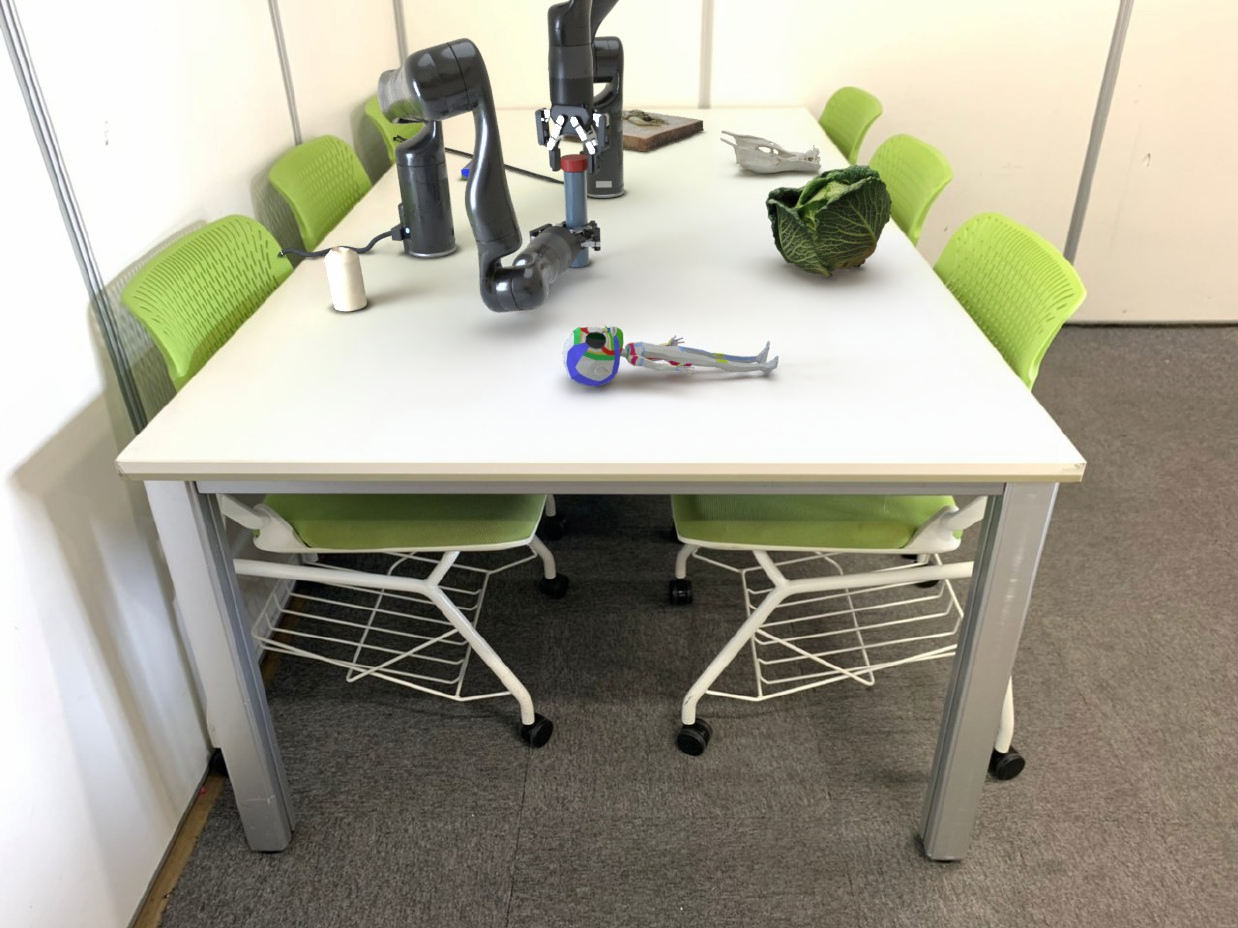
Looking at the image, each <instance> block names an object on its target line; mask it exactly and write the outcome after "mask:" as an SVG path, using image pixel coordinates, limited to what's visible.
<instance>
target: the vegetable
mask: <svg viewBox="0 0 1238 928" xmlns="http://www.w3.org/2000/svg"><path fill="white" fill-rule="evenodd" d="M767 196H768V197H767V198H766V200H765V207H766V209H767V219H769V221H770V222H771V223H770V229H771V232H772V237H773V239H774V240H773V244H774V246H775V247H776V250H777V251H778V253H780V255H781V256H782V258H783V259H784V261H785V262H786V264H793V265H794V266H795V267H796V268H799V269H800V270H802V271H804V272H806V273H809V274H813V275H821V276H824V277H825V278H829V276H830V277H833V274H832V273H831V272H834V271H836V270H840V269H848V270H851V268H861V266H862V265H864V264H865V262H866V261H867V259H869V258H870V257H871V256H872V255H873V254H875V252H876V249H877V246H878V242H879V240H880V238H881V235H882V233H883V230H884V228H885V226H886V225H887V224H888V223H889V222H890V220H891V216H890V215H891V214H892V211H891V209H892V204H893V200H892V198H891V194H890V192H889V191H888V189H887V184H886V183H885V180H882V178H881V176H880V173H879V172H878V170H876V169H873V168H871V167H870V165H869V164H868V165H867V164H865V165H863V164H862V165H859V164H852V165H849V166H847V167H846V168H835V169H830V170H825V171H823V172H821V173H820V174H817V175H816V176H814V177H813V178H812V179H811V180H809V181H807V182H806V184H804V185H803V186H800V187H787V186H780V187H778V188H774V189H773V190H770V191H769V192H768V194H767Z"/></svg>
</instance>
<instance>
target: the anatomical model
mask: <svg viewBox="0 0 1238 928" xmlns="http://www.w3.org/2000/svg"><path fill="white" fill-rule="evenodd" d="M720 133H721V134H724V135H728V136H731V137H733V138H734V140H735V143H734V142H731V141H729V140H728V139H725V138H722V137H720V141H721V142H723V143H725V144H727V145H729V146H732V147H733V149H734V150H733V151H734V154H735V160H736V161H735V164H736V165H739V166H740V168H742V169H744V170H751V171H752V172H754V173H757V174H774V173H779V172H784V171H805V172H813V171H818V170H820V169H821V168H822V164H821V163H820V162H821V156H819V155H820V153H821V152H820V149H819V148H816V147H815V145H812V149H808V150H807V151H806V152H799V151H789V150H786V149H784V148H783V146H781V145H780V144H778V143H776V142H774V141H771V140H768V139H766V138H763V137H760V136H754V135H750V134H738V133H735V132H730V131H727V130H721V132H720ZM760 148H767V149H769V150H770V151H769V152H766V151H764V150H762V149H760ZM774 150H776V151H777V153H775V152H774Z"/></svg>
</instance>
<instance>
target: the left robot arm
mask: <svg viewBox="0 0 1238 928" xmlns="http://www.w3.org/2000/svg"><path fill="white" fill-rule="evenodd" d="M376 94H377V100H378V105H379V108H380V111H381V113H382V115H383V117H384V118H385V120H387V122H389V123H390V124H392V125H397V126H398V125H399V126H400V125H403V126H404V125H414V124H422V127H421V129H420V130H419V131H418V132H417V133H416V134H414V135H413V136H411V137H409V138H407V139H408V140H406V141H402V142H400V143H399V144H397V145H396V146H395V147H394V158H395V165H396V171H397V178H398V179H397V180H398V185H399V192H400V198H401V199H400V200H401V202H400V203H398V205H397V209H398V217H399V223H397V224H396V225H395V226H393V227H391V228H390V230H388V231H385V232H382V233H380V234H378V235H376V236H375V237H372V239H371V240H370V242H369V243H368V244H367V245H366V246H363V247H361V248H360V247H353V246H349V245H337V246H336V247H344V248H347V249H351V250H353V251H355V252H356V253H357V254H364V253H368V252H369V251H371V250H372V249H373V248H374V247H375V245H376V244H377V243H378V242H380V241H382V240H383V239H385V238H388V237H391V241H396V242H402V245H403V252H404V254H408V255H410V256H412V257H416V258H423V259H430V258H431V259H432V258H440V257H445V256H448V255H451V254H453V253H454V252H456V251H457V248H458V247H457V243H456V235H455V234H456V233H455V224H454V217H453V209H452V200H451V191H450V183H449V181H450V180H449V175H448V166H447V157H446V151H445V147H446V146H445V138H444V129H443V127H444V126H443V121H444V120H448V119H451V118H454V117H457V116H460V115H464V114H468V113H470V112H471V113H472V116H473V122H474V146H473V153H472V154H473V158H472V157H471V160H472V163H471V167H470V171H469V175H468V179H466V185H465V191H464V208H465V211H466V216H467V219H468V222H469V225H470V228H471V231H472V235H473V238H474V241H475V244H476V249H477V259H478V274H479V275H478V277H479V280H478V282H479V294H480V299H481V300H482V302H483V304H484V305H485V306H486V308H488V309H489V310H490V311H491V312H494V313H500V314H501V313H512V312H522V311H532V310H536V309H538V308H540V307H542V306H543V305H544V304H545V303H546V302H547V299H548V296H549V291H550V290H549V289H550V287H551V284H552V283H553V282H554V281H555V280H556V279H558V278H559V277H561V276H562V275H563V274H564V273H565V272H566V271H567V270H568V269H569V268H570V267H571V266H570V265H571V264H572V263H573V262H574V261H575V260H576V258H577V256H578V254H579V252H580V251H583V250H585V248H586V247H589V248H591V249H592V250H593V251H594V252H601V249H602V246H601V244H602V243H601V227H598V223H597V222H596V220H594V219H593V220H590V221H588V224H587V225H586V226H585V227H577V228H575V229H573V230H571V229H570V230H568V229H566V219H565V220H563V221H561V222H558V223H556V224H555V225H553V223H550V222H549V223H546V224H543V225H541V226H538V227H536V228H534V229H531V230H529V243H528V244H527V246H526V247H525V248H524V249H523V250H521V252H520V253H518V254H517V255H516V256H515V258H514V259H513V262H512V264H511V265H509V266H503V264H502V258H505V257H508V256H510V255H512V254H515V253H516V252H517V251H519V250H520V249H521V248H522V245H523V235H522V231H521V227H520V223H519V221H518V217H517V214H516V210H515V206H514V203H513V200H512V196H511V193H510V188H509V185H508V183H509V182H508V180H507V173H506V168H505V167H504V164H505V161H504V155H503V154H504V153H503V147H502V139H501V135H500V128H499V123H498V118H497V112H496V105H495V99H494V94H493V88H492V84H491V79H490V75H489V72H488V69H487V65H486V63H485V60H484V57H483V55H482V53H481V50H480V49H479V47H477V44H476V43H475V42H474V41H473V40H471V39H469V38H468V37H461V38H458V39H453V40H451V41H446V42H444V43H440V44H437V45H433V46H429V47H426V48H422V49H419V50H416V51H413V52H412V53H410V54H409V55H408V56H407V57H406V58H405V60H404V62H403V63H402V64H401V65H400V66H399V67H397V68H395V69H394V68H393V69H387V70H384V71H383V72H382V73H380V75H379V78H378V80H377V89H376ZM333 247H334V246H333ZM333 247H328V248H326V249H322V250H317V251H304V250H300V249H297V248H294V247H284V248H282V249H281V250H280V251H282V253H283V255H284V256H285V255H286V254H290V253H291V254H294V255H297V256H300V257H304V258H318V257H322V256H327V254H328V253H329V252H330V250H331V249H332V248H333ZM280 251H279V252H278V253H277V255H276V257H278V258H280V257H284V256H283V255H282V254H281V252H280Z"/></svg>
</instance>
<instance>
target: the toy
mask: <svg viewBox="0 0 1238 928" xmlns="http://www.w3.org/2000/svg"><path fill="white" fill-rule="evenodd" d="M682 339H684V337H680V338H677V335H676V334H675V335H674V336H673V337H671V338H670V339H669V340H668V342H664V343H660V344H659V343H658V344H654V343H649V342H645V341H637V342H633V341H632V342H627V343H626V344H625V346H624V332H623V330H622V329H621V328H620V327H617V326H613V325H610V326H609V327H608V326H606V325H604V327H597V326H585V327H581V326H578V327H576V328H575V329H574V330H572V332H571V334H570V335H569V336H568V337H567V338H566V340H565V342H564V343H563V348H562V352H561V354H562V361H563V365H564V369H565V372H566V375H567V377H568V378H569V379H571V380H573V381H574V382H576V383H578V384H582V385H585V386H589V387H600V386H602V385H605V384H607V383H609V382H612V380H613V379H614V378H615V377H616V376H617V374H618V371H619V368H620V365H621V364H620V362H621V357H622V358H625V359H626V361H627V362H628V364H629V365H630V366H633V367H641V368H642V367H643V368H646V369H650V370H654V371H655V372H661V373H670V372H679V373H685V374H689V375H692V376H693V375H694V374H693V373H695V374H697V370H693V369H695V367H703V368H715V369H718V370H719V369H720V370H723V371H725V372H726V371H727V372H729V373H748V372H755V371H761V372H764V373H765V374H770V373H771V372H772V371H774V370H776V369H777V368H778V364H779V358H780V357H779V355H776V356H775V357H774V358H772V360H769V361H768V362H767V360H768V354H769V351H770V346H771V341H769V340H768V341H767V343H766V344H765V346H764V348H763V349H762V350H761V351H760V352H759V353H758V354H757V355H744V356H743V355H734V354H727V353H720V352H710V351H707V350H704V349H699V348H694V347H688V346H680V345H679V344H685V343H686V342H685V341H681V340H682ZM623 347H624V348H623ZM658 361H659V362H658ZM660 361H664V362H666V363H662V362H661V363H660ZM667 363H668V364H667Z"/></svg>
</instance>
